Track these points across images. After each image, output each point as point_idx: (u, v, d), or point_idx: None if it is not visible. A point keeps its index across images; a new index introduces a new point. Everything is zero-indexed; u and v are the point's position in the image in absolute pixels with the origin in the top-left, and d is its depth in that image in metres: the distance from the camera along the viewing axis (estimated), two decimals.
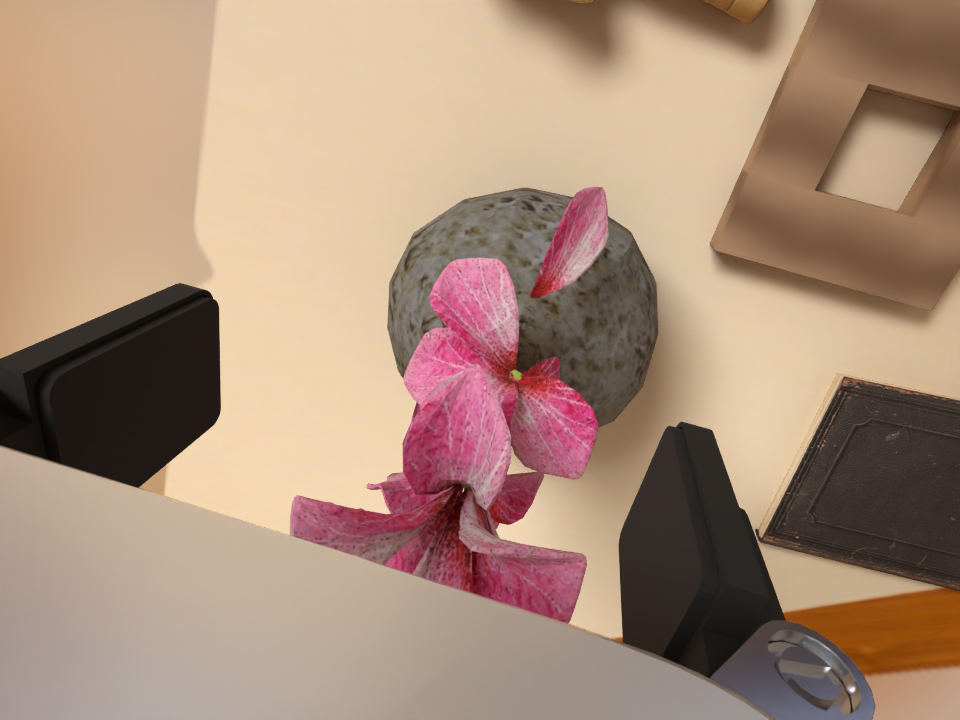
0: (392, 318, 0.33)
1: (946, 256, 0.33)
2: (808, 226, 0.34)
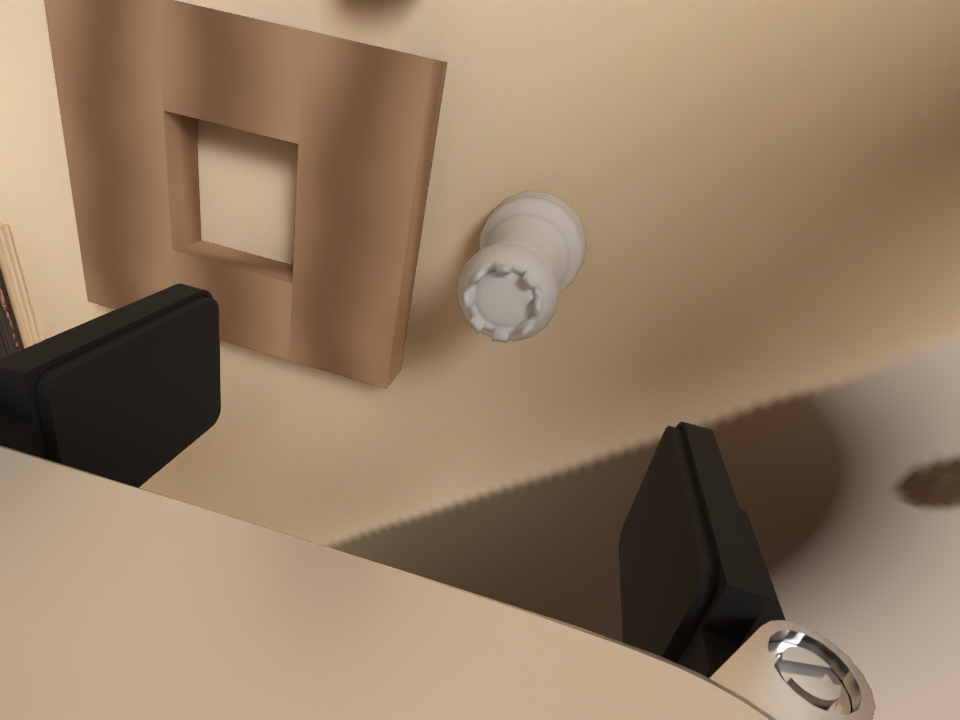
0: None
1: None
2: (120, 116, 0.23)
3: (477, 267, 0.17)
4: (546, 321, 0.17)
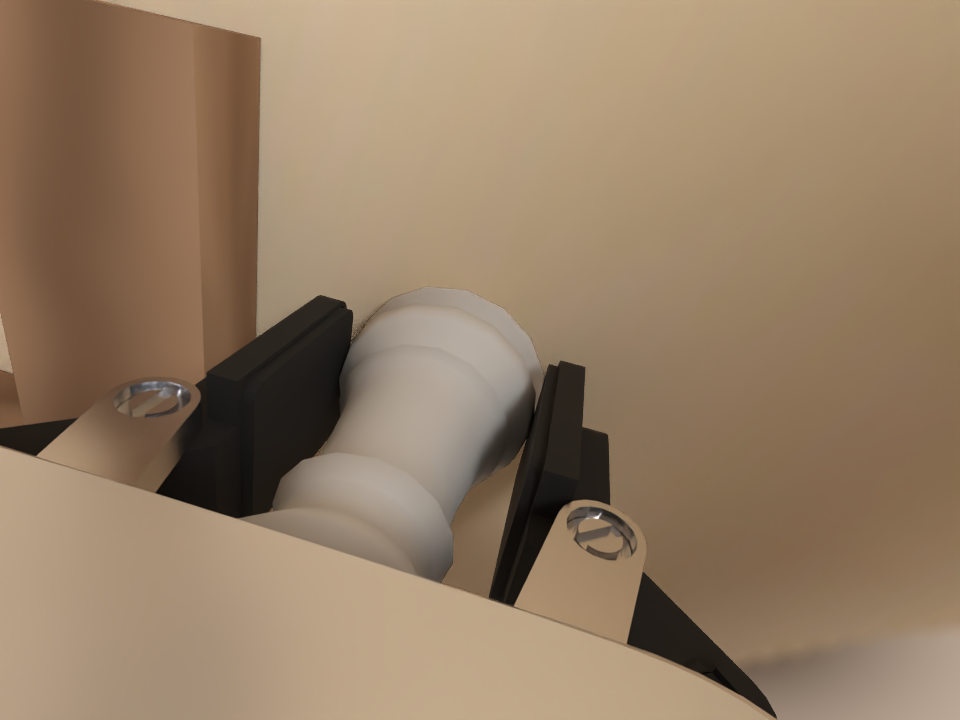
0: None
1: None
2: None
3: None
4: None
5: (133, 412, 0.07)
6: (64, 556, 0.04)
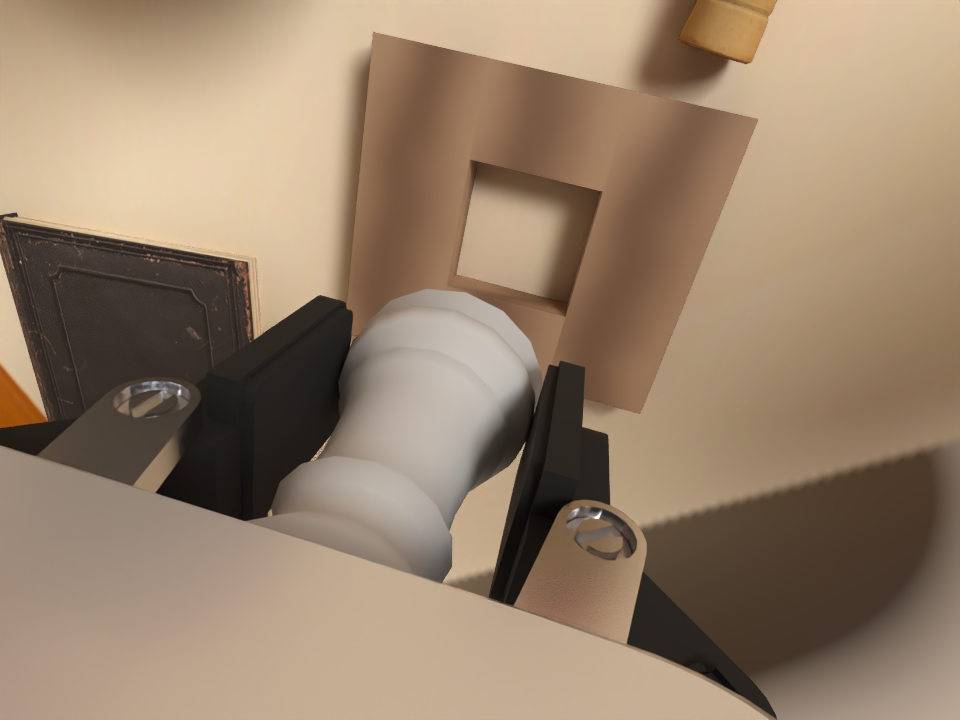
0: None
1: None
2: (423, 164, 0.25)
3: None
4: None
5: (133, 412, 0.07)
6: (63, 556, 0.04)
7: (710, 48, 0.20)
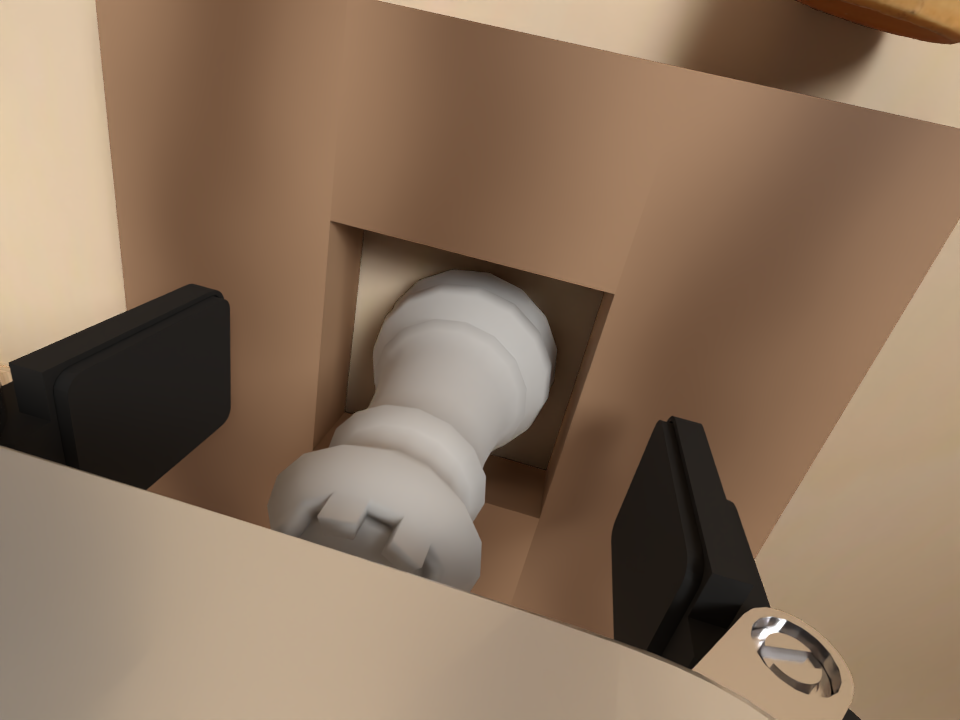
0: None
1: (252, 516, 0.15)
2: (238, 228, 0.12)
3: (292, 501, 0.07)
4: None
5: None
6: (64, 556, 0.04)
7: None
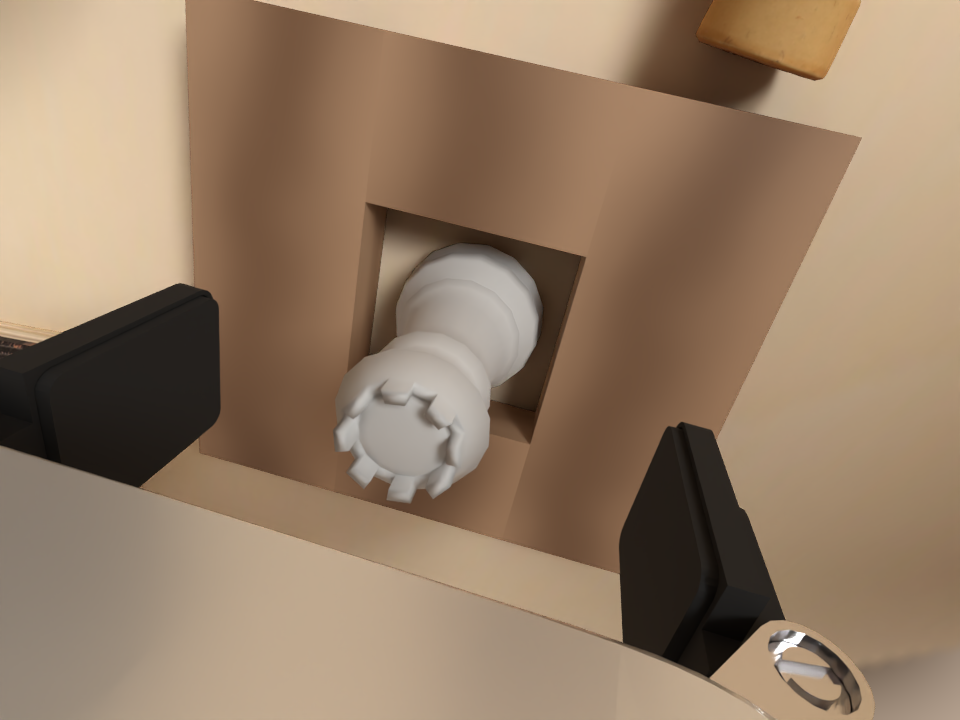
0: None
1: (291, 454, 0.19)
2: (291, 208, 0.15)
3: (359, 388, 0.10)
4: (473, 464, 0.11)
5: None
6: (64, 556, 0.04)
7: (757, 52, 0.11)
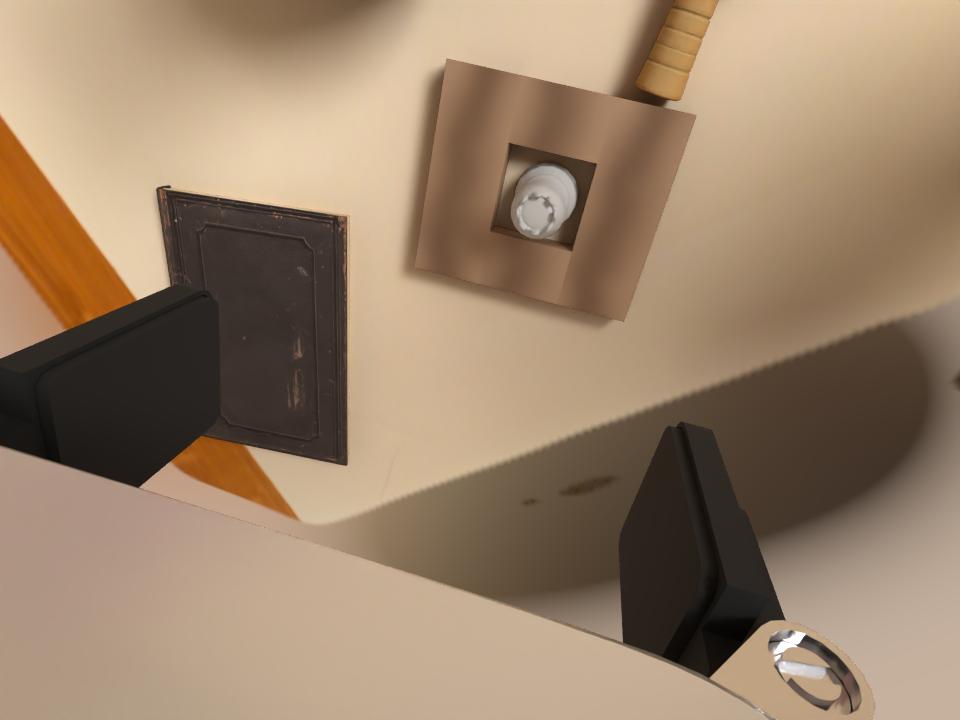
0: None
1: (460, 264, 0.40)
2: (476, 146, 0.37)
3: (523, 196, 0.32)
4: (558, 226, 0.33)
5: None
6: (64, 556, 0.04)
7: (653, 92, 0.33)
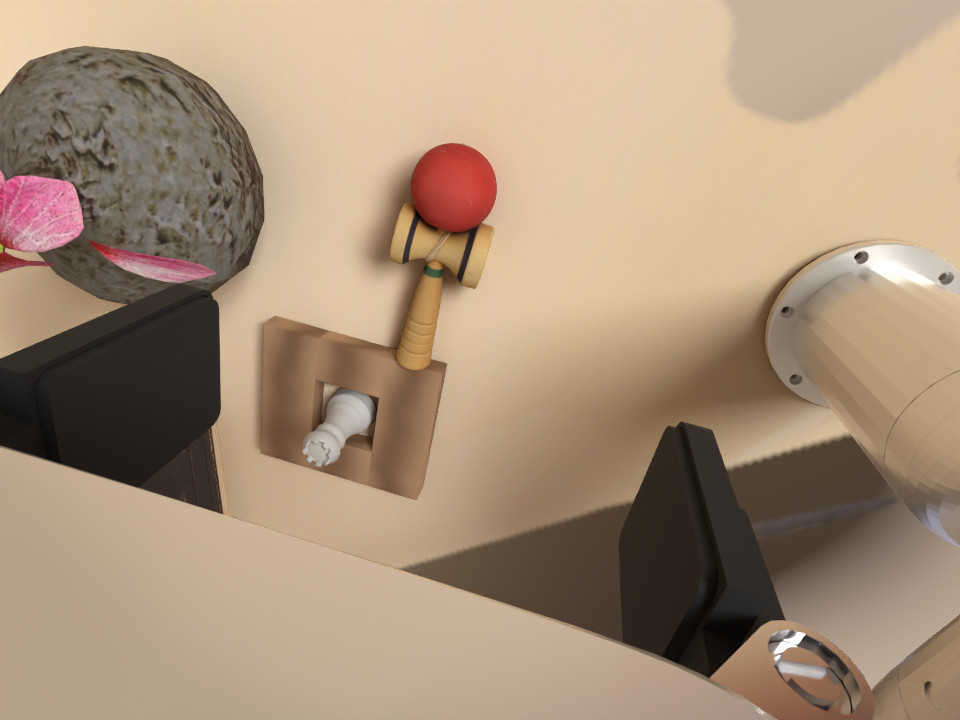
0: (70, 62, 0.32)
1: (293, 454, 0.53)
2: (293, 379, 0.49)
3: (307, 440, 0.44)
4: (337, 458, 0.45)
5: None
6: (64, 556, 0.04)
7: (403, 366, 0.45)
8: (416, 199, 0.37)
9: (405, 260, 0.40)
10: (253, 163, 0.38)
